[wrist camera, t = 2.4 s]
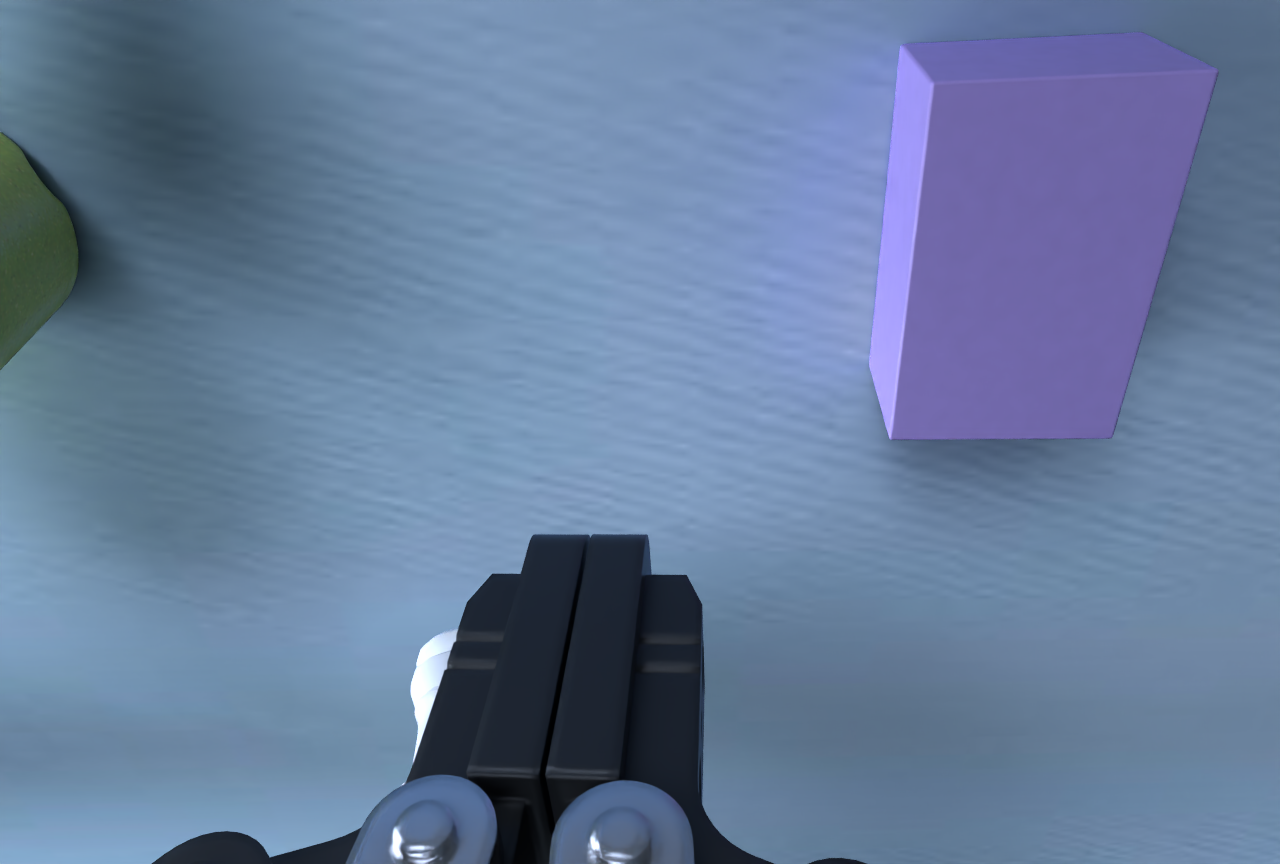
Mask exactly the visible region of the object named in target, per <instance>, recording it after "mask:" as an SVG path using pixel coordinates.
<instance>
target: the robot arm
mask: <svg viewBox="0 0 1280 864" xmlns="http://www.w3.org/2000/svg"><path fill="white" fill-rule="evenodd" d="M704 694H705V679H704V647H703V615H702V603H701V601H700V600H699V598H698V596H697V594H696V592H695V590H694V588H693V586H692V584H691V582H690V581H689V579H688V577H687V575H652V574H651V561H650V547H649V539H648V535H608V534H593V535H592V536H591V538H590V536H589V535H536V534H535V535H533V536H532V538H531V540H530V543H529V546H528V550H527V553H526V557H525V561H524V564H523V568H522V571H521V574H492V575H491V576H490V577H489V578H488V579H487V580H486V582H485V583H484V584H483V585H482V586H481V587H480V588H479V589H478V591H477V592H476V593H475V594H474V595H473V596H472V597H471V598H470V600H469V601H468V602H467V604H466V607H465V610H464V613H463V616H462V619H461V622H460V625H459V628H458V631H457V634H456V642H454V643H453V646H452V649H451V652H450V655H449V658H448V661H447V669H446V670H444V673H443V676H442V679H441V682H440V685H439V688H438V691H437V694H436V697H435V700H434V703H433V706H432V709H431V712H430V715H429V718H428V721H427V724H426V727H425V730H424V733H423V736H422V739H421V742H420V745H419V747H418V750H417V753H416V756H415V759H414V762H413V765H412V768H411V771H410V774H409V776H408V778H407V781H406V783H405V784H404V785H402V786H400V787H399V788H397V789H395V790H394V791H392V792H391V793H390V794H389V795H387V796H386V797H385V798H383V799H382V800H381V801H380V802H379V804H378V805H377V806H376V807H375V808H374V809H373V810H372V812H371V813H370V814H369V816H368V817H367V819H366V820H365V822H364V824H363V826H362V827H361V828H360V829H358V830H356V831H354V832H352V833H350V834H348V835H346V836H343V837H340V838H337V839H334V840H331V841H328V842H324V843H321V844H317V845H313V846H310V847H306V848H303V849H299V850H295V851H292V852H288V853H285V854H281V855H277V856H274V857H270V858H269V856H268V854H267V852H266V851H265V849H264V847H263V846H262V845H261V844H260V843H259V842H258V841H257V840H255V839H253V838H252V837H250V836H248V835H245V834H242V833H238V832H229V831H224V832H214V833H209V834H205V835H201V836H198V837H196V838H193V839H190V840H188V841H186V842H184V843H182V844H180V845H178V846H176V847H175V848H173V849H172V850H170V851H169V852H167V853H166V854H164V855H163V856H161V857H160V858H159V859H157V860H156V861H155V862H153V863H152V864H774V863H771V862H769V861H766V860H763V859H761V858H758V857H755V856H753V855H751V854H749V853H747V852H745V851H743V850H741V849H739V848H738V847H736V846H735V845H733V844H732V843H730V842H729V841H728V840H727V839H726V838H725V837H724V836H722V835H721V834H720V833H719V831H718V830H717V829H716V828H715V827H714V826H713V824H712V823H711V821H710V820H709V818H708V816H707V815H706V813H705V811H704V808H703V806H702V789H703V742H704ZM809 864H866V863H863V862H860V861H857V860H852V859H845V858H828V859H822V860H817V861H814V862H812V863H809Z"/></svg>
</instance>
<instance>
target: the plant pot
mask: <svg viewBox="0 0 1280 864" xmlns="http://www.w3.org/2000/svg"><path fill="white" fill-rule="evenodd" d="M78 267H79V260H78V246H77V240H76V235H75V231H74V228H73V225H72V222H71V219H70V217H69V214H68V212H67V210H66V208H65V206H64V205H63V204H62V202H61V201H59V200H58V199H57V198H56V197H55V196H54V195H53V194H52V193H51V192H50V191H49V190H48V189H47V188H46V186H45V185H44V184H43V183H42V182H41V180H40V179H39V177H38V176H37V174H36V173H35V172H34V170H33V169H32V167H31V166H30V164H29V163H28V161H27V159H26V157H25V155H24V153H23V151H22V150H21V149H20V148H19V147H18V146H17V145H16V144H15V143H14V142H13V141H11V140H10V139H9V138H8V137H6V136H5V135H4V134H2V133H1V132H0V370H1V369H2V368H3V367H4V366H5V365H6V364H7V363H8V361H9V360H10V359H11V358H12V357H13V356H14V355H15V354H16V353H17V352H18V351H19V350H20V349H21V348H22V347H23V346H24V344H25V343H26V342H27V341H28V340H29V339H30V338H31V337H32V336H33V335H34V334H35V333H36V332H37V331H38V330H39V329H40V328H41V327H42V326H43V325H44V324H45V322H46V321H47V320H48V319H49V318H50V317H51V316H52V315H53V314H54V313H55V312H56V311H57V310H58V309H59V308H60V307H61V305H62V304H63V303H64V301H65V300H66V299H67V298H68V296H69V295H70V292H71V290H72V288H73V286H74V284H75V281H76V277H77V272H78Z"/></svg>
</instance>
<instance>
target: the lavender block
mask: <svg viewBox="0 0 1280 864" xmlns="http://www.w3.org/2000/svg"><path fill="white" fill-rule="evenodd" d="M1217 76H1218V69H1216V68H1214V67H1212V66H1210V65H1208V64H1206V63H1204V62H1202V61H1200V60H1198V59H1196V58H1194V57H1192V56H1190V55H1188V54H1186V53H1184V52H1182V51H1179V50H1177V49H1175V48H1173V47H1171V46H1169V45H1167V44H1165V43H1163V42H1161V41H1159V40H1157V39H1155V38H1153V37H1151V36H1149V35H1147V34H1145V33H1142V32H1135V33H1115V34H1094V35H1074V36H1054V37H1033V38H1013V39H992V40H972V41H952V42H931V43H911V44H903V45H901V47H900V53H899V63H898V74H897V84H896V94H895V105H894V115H893V125H892V135H891V146H890V156H889V166H888V177H887V187H886V197H885V208H884V218H883V228H882V238H881V249H880V259H879V269H878V280H877V290H876V300H875V310H874V321H873V331H872V341H871V352H870V362H869V366H870V370H871V373H872V377H873V381H874V384H875V388H876V392H877V395H878V399H879V403H880V407H881V410H882V414H883V418H884V421H885V425H886V429H887V432H888V436H889V439H891V440H941V439H1110V438H1112V437H1113V434H1114V430H1115V427H1116V424H1117V420H1118V417H1119V413H1120V410H1121V406H1122V403H1123V400H1124V396H1125V393H1126V389H1127V386H1128V382H1129V379H1130V375H1131V372H1132V369H1133V365H1134V362H1135V358H1136V355H1137V351H1138V348H1139V344H1140V341H1141V338H1142V334H1143V331H1144V327H1145V324H1146V320H1147V317H1148V314H1149V310H1150V307H1151V303H1152V300H1153V296H1154V293H1155V289H1156V286H1157V283H1158V279H1159V276H1160V272H1161V269H1162V265H1163V262H1164V259H1165V255H1166V252H1167V248H1168V245H1169V241H1170V238H1171V234H1172V231H1173V228H1174V224H1175V221H1176V217H1177V214H1178V210H1179V207H1180V204H1181V200H1182V197H1183V193H1184V190H1185V186H1186V183H1187V179H1188V176H1189V173H1190V169H1191V166H1192V162H1193V159H1194V155H1195V152H1196V149H1197V145H1198V142H1199V138H1200V135H1201V131H1202V128H1203V124H1204V121H1205V118H1206V114H1207V111H1208V107H1209V104H1210V100H1211V97H1212V94H1213V90H1214V87H1215V83H1216V80H1217Z"/></svg>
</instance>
